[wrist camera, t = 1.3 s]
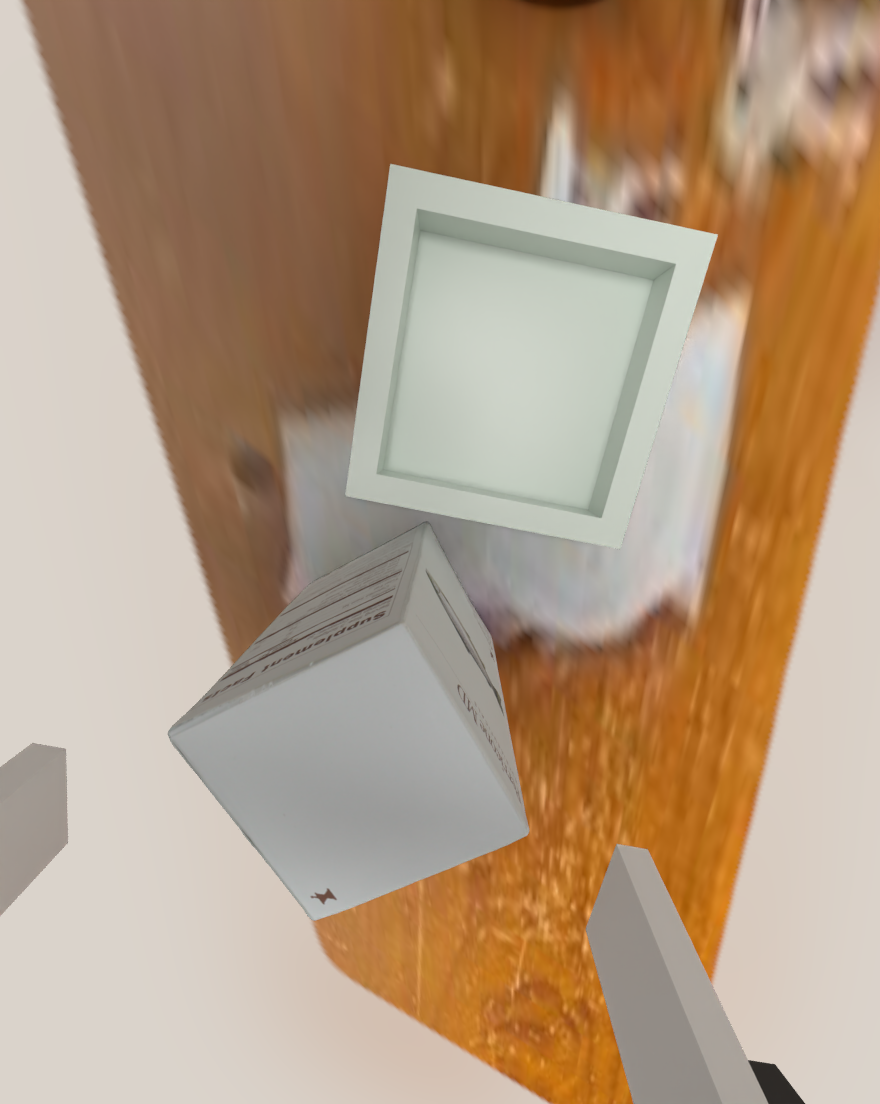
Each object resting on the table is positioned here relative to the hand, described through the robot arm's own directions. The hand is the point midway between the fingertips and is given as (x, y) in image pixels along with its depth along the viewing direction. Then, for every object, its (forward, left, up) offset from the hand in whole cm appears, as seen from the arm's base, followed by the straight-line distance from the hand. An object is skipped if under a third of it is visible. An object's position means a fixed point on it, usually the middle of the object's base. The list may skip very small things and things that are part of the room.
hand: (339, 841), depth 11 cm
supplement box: (0, 0, -14) cm, 14 cm away
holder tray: (-12, +3, -14) cm, 19 cm away
